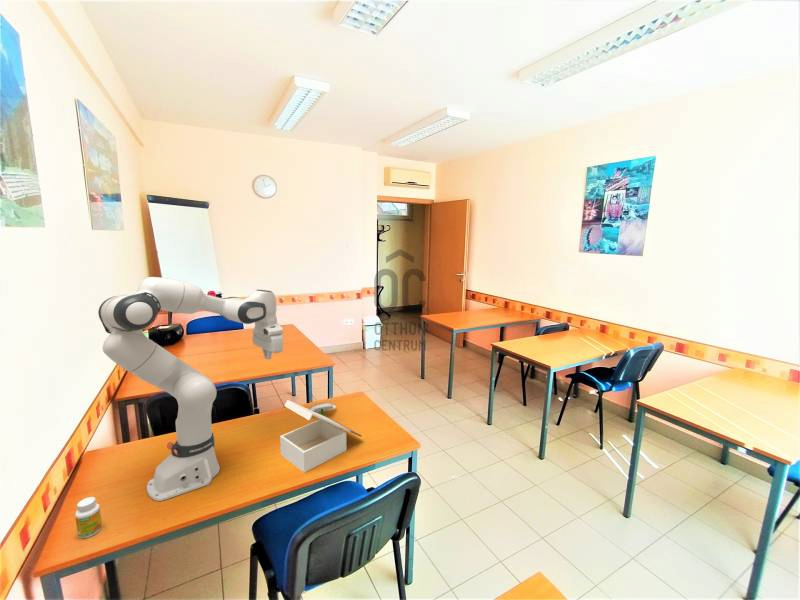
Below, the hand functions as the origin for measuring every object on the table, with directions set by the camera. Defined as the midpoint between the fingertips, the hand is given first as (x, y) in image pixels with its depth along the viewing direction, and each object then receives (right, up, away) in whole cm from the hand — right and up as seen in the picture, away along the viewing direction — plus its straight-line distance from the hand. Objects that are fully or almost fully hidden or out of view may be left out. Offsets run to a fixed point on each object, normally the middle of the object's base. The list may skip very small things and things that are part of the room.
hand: (267, 358), depth 153 cm
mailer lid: (+25, -26, -6) cm, 37 cm away
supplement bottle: (-34, -43, -49) cm, 73 cm away
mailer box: (+22, -37, -8) cm, 44 cm away
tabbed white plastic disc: (+18, -32, +24) cm, 44 cm away
